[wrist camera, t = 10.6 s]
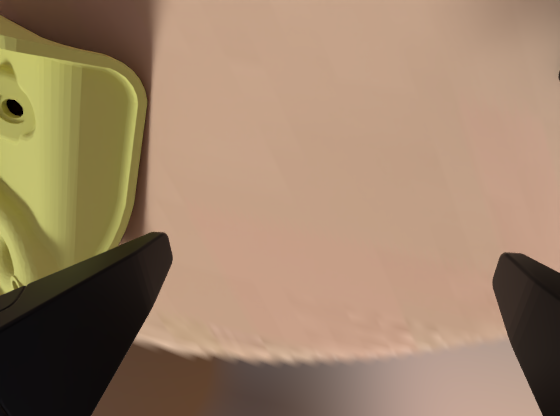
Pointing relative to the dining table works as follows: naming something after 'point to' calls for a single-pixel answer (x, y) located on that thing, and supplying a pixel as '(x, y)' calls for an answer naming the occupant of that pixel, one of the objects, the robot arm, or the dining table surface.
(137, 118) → the plastic component
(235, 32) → the dining table surface
